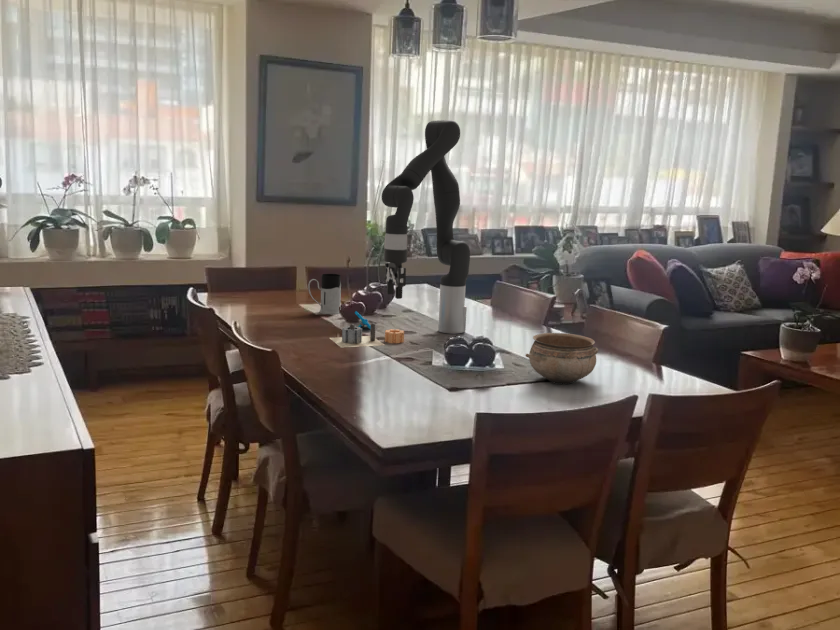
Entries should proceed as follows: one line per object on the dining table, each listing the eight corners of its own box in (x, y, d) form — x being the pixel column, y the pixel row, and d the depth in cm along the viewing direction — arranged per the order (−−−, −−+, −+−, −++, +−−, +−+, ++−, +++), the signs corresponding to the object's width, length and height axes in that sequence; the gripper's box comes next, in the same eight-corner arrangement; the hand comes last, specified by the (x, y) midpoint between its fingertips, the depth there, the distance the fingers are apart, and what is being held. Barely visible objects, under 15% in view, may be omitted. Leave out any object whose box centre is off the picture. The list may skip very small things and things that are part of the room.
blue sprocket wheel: (377, 330, 267) (357, 310, 266) (364, 342, 267) (345, 322, 266) (376, 328, 278) (357, 308, 277) (364, 339, 278) (345, 320, 277)
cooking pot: (544, 394, 205) (548, 350, 203) (505, 376, 221) (508, 335, 219) (616, 385, 216) (620, 343, 214) (574, 369, 233) (577, 330, 230)
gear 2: (399, 341, 259) (400, 328, 258) (406, 346, 253) (407, 332, 253) (382, 342, 257) (382, 329, 256) (388, 347, 251) (388, 333, 250)
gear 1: (353, 338, 256) (353, 325, 255) (365, 342, 251) (365, 328, 251) (338, 341, 251) (338, 327, 251) (350, 344, 247) (350, 331, 246)
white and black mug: (345, 313, 305) (346, 276, 302) (313, 315, 297) (313, 277, 294) (334, 309, 312) (335, 273, 309) (303, 311, 304) (303, 274, 301)
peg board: (371, 339, 261) (372, 318, 260) (385, 348, 249) (385, 327, 247) (329, 341, 256) (329, 320, 254) (340, 351, 243) (341, 329, 242)
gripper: (414, 250, 244) (412, 299, 247) (399, 245, 257) (397, 292, 260) (392, 250, 241) (390, 300, 245) (378, 245, 254) (376, 293, 258)
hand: (394, 296), depth 252 cm, fingers open, 8 cm apart
